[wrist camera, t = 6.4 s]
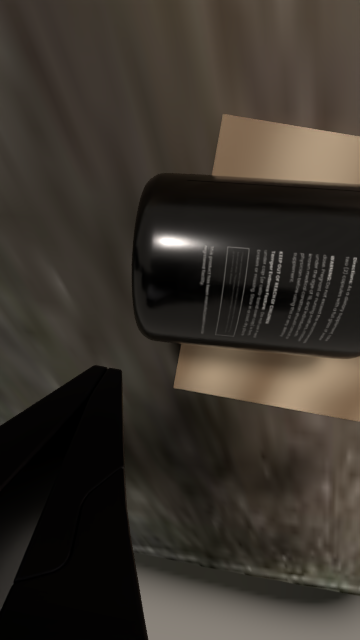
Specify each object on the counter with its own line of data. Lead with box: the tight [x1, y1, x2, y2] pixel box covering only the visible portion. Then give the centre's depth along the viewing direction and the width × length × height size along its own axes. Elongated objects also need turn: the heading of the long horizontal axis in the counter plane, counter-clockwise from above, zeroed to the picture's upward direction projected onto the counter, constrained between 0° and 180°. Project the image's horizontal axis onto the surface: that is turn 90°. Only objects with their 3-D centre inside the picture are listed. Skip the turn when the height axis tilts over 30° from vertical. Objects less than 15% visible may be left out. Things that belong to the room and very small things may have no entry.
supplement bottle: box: [132, 173, 360, 359], centre depth 11 cm, size 7×7×12 cm
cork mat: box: [173, 114, 360, 422], centre depth 16 cm, size 14×16×1 cm
